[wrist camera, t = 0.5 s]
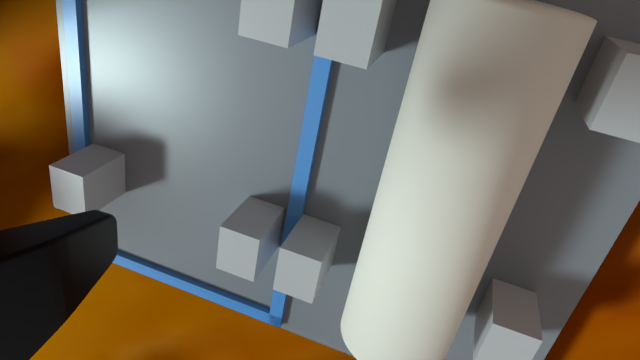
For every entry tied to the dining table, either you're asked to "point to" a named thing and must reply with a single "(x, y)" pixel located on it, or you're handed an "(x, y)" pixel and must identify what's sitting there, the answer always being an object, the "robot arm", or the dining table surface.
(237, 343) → the dining table surface
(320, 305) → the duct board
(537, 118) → the white cylinder
